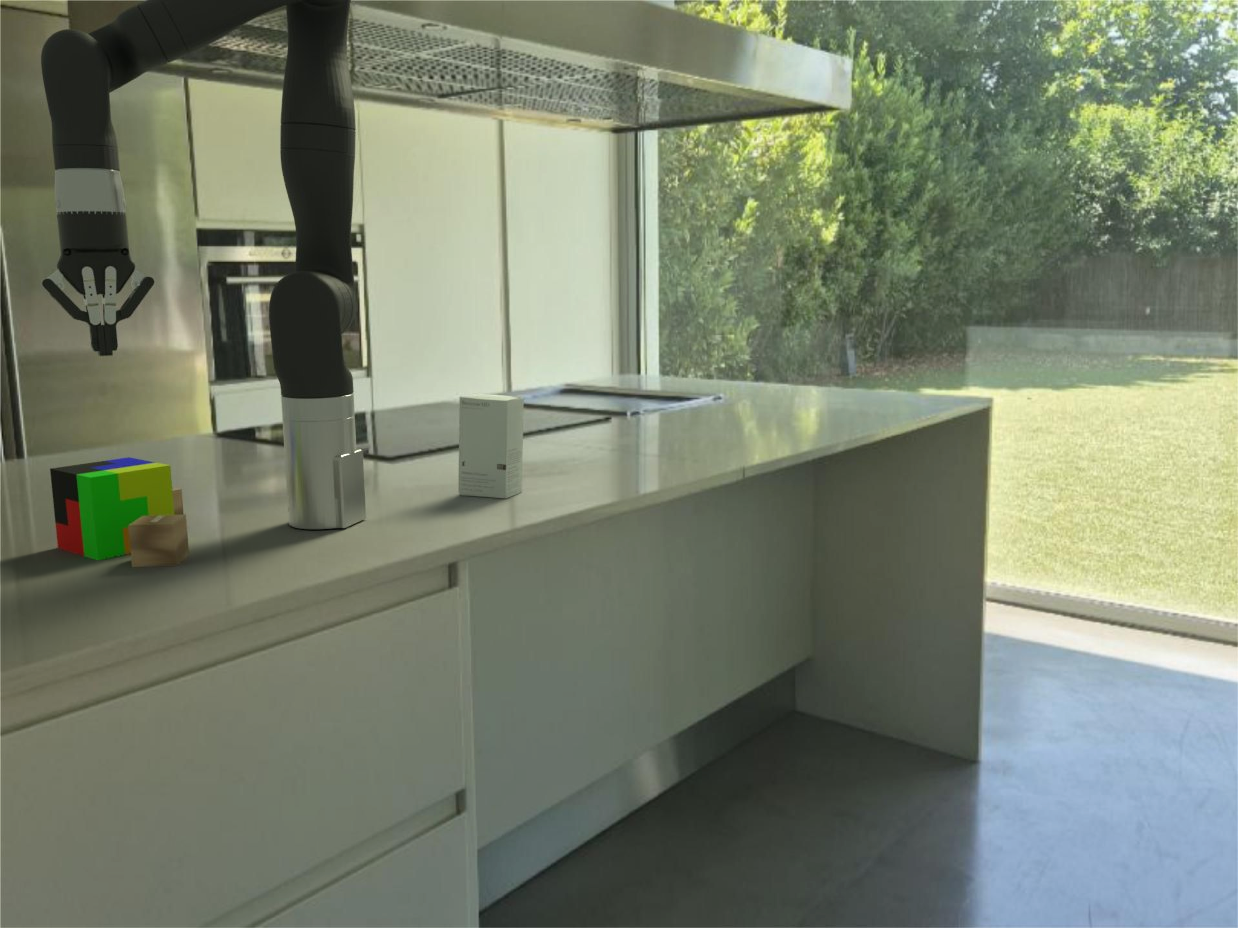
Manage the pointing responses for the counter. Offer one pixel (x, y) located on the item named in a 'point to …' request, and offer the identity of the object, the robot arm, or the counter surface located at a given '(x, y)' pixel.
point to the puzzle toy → (107, 503)
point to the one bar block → (158, 540)
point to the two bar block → (177, 501)
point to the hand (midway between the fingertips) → (105, 355)
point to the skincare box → (490, 445)
